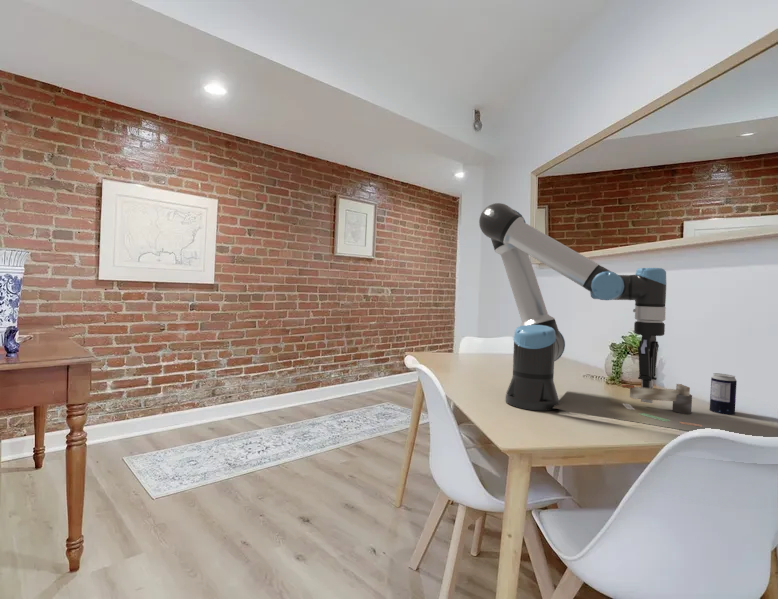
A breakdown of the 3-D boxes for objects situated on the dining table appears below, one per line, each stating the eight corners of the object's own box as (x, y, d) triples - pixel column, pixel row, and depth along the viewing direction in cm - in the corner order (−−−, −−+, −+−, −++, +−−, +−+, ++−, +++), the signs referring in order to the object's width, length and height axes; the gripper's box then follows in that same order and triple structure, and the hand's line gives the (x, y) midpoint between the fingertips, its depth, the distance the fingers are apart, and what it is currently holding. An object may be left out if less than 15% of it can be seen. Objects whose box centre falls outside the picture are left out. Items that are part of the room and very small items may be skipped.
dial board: (613, 418, 115) (614, 413, 115) (617, 404, 130) (617, 400, 130) (705, 434, 104) (705, 428, 104) (697, 416, 120) (698, 411, 120)
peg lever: (624, 409, 119) (625, 383, 119) (618, 405, 124) (619, 380, 123) (694, 414, 117) (696, 387, 117) (685, 410, 121) (687, 384, 121)
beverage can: (739, 420, 118) (741, 377, 117) (716, 418, 119) (718, 376, 118) (727, 414, 123) (729, 373, 123) (705, 413, 124) (707, 372, 124)
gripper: (640, 319, 130) (638, 395, 131) (628, 321, 121) (625, 403, 121) (669, 321, 125) (666, 400, 125) (659, 323, 115) (655, 408, 116)
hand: (646, 401), depth 123 cm, fingers closed
